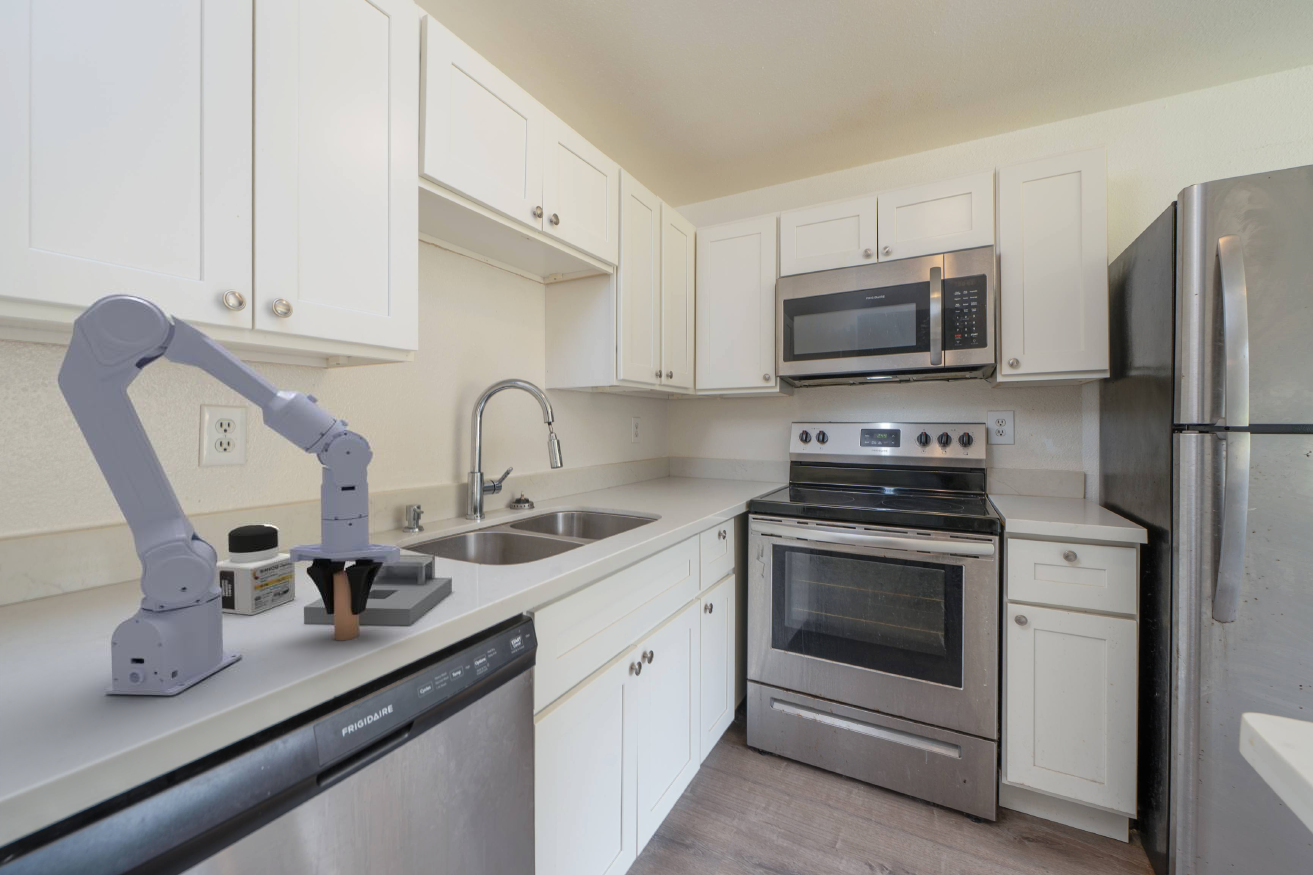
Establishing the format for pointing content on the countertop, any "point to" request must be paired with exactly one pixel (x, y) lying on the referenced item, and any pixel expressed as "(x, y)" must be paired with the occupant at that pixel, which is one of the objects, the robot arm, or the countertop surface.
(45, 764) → the countertop surface
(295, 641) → the countertop surface
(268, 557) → the container
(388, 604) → the socket board
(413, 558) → the grey bridge
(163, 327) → the robot arm
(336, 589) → the peg
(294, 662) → the countertop surface
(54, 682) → the countertop surface
